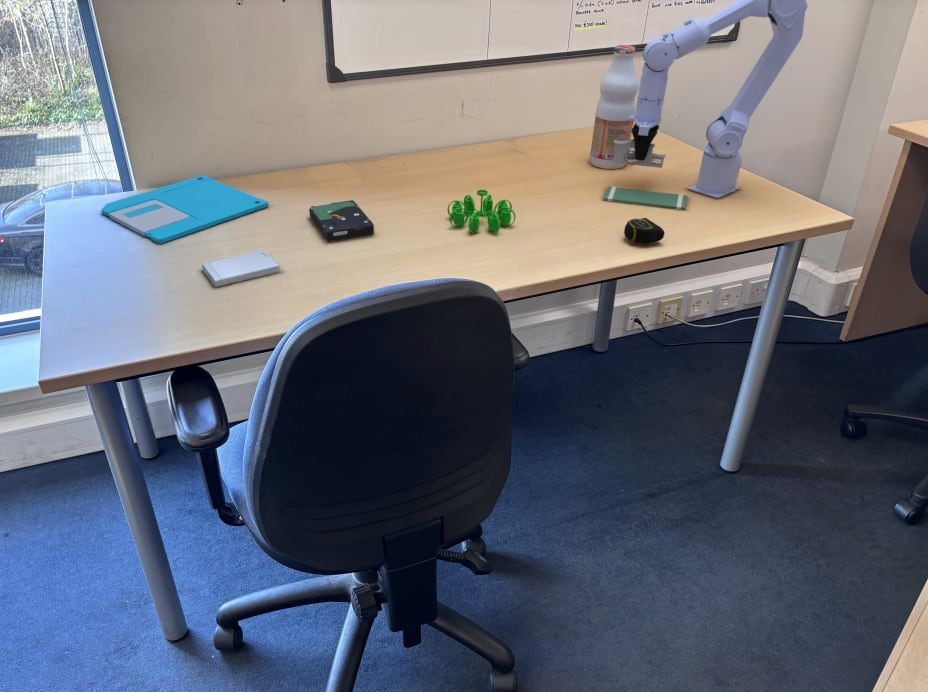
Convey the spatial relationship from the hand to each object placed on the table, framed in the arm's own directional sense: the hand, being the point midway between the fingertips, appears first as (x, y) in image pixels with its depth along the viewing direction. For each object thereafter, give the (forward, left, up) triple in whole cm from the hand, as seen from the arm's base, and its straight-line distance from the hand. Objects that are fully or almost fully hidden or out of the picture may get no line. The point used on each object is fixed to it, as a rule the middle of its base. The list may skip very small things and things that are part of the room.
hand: (640, 158), depth 174 cm
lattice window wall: (0, 0, -2) cm, 2 cm away
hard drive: (+94, -22, -7) cm, 97 cm away
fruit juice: (-9, -15, -7) cm, 19 cm away
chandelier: (+43, -9, -7) cm, 45 cm away
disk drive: (+67, -27, -7) cm, 73 cm away
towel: (+5, +6, -7) cm, 10 cm away
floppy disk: (+88, -58, -7) cm, 106 cm away
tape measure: (+24, +19, -7) cm, 32 cm away
